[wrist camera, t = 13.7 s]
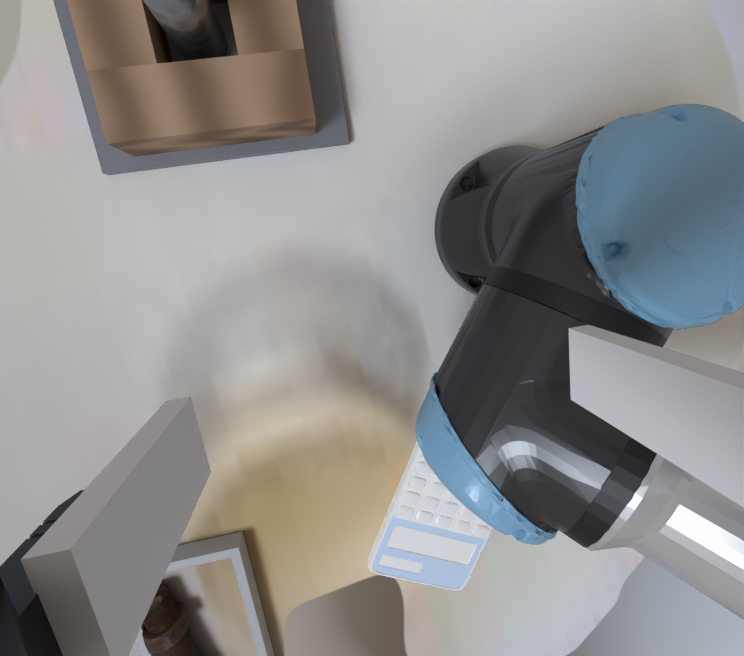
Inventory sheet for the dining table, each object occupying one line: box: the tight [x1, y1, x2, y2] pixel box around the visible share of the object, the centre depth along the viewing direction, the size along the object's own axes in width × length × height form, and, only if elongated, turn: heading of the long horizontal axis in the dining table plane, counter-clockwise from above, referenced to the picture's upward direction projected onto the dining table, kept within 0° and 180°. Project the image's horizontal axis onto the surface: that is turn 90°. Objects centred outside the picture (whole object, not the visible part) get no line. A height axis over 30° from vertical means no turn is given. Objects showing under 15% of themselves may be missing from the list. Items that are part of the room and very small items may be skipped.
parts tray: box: [135, 531, 275, 656], centre depth 46 cm, size 13×22×2 cm, turn 8°
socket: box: [53, 0, 349, 175], centre depth 33 cm, size 22×18×6 cm
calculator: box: [368, 441, 493, 591], centre depth 49 cm, size 13×20×2 cm, turn 159°
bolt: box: [142, 585, 199, 656], centre depth 45 cm, size 6×5×15 cm
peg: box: [143, 0, 228, 61], centre depth 29 cm, size 4×4×12 cm
